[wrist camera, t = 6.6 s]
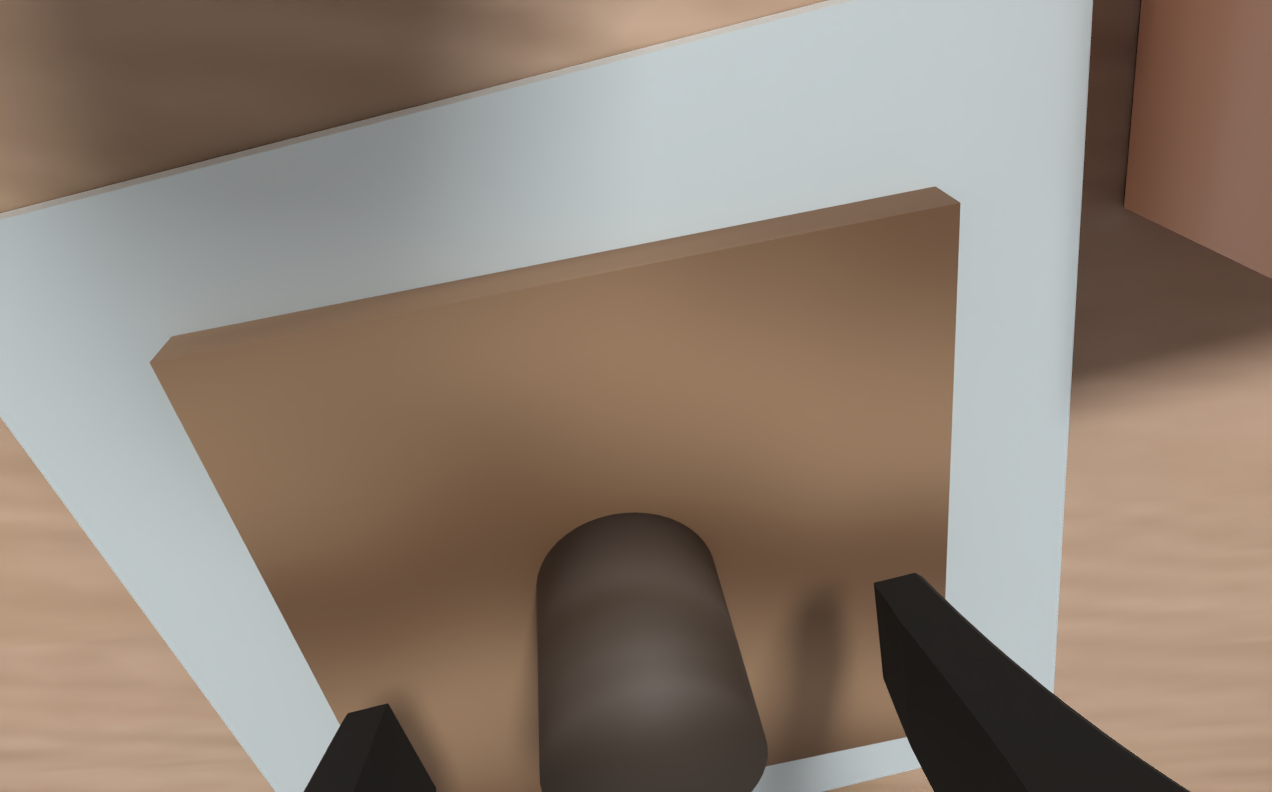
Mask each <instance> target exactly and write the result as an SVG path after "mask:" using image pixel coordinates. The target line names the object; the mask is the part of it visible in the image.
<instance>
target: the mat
mask: <svg viewBox="0 0 1272 792" xmlns="http://www.w3.org/2000/svg"><path fill="white" fill-rule="evenodd" d="M1092 10H1093V0H828V1H824V2H820V3H816V4H812V5H808V6H804V7H801V8H797V9H793V10H789V11H785V12H781V13H777V14H773V15H769V16H766V17H762V18H758V19H754V20H750V21H746V22H742V23H738V24H734V25H731V26H727V27H723V28H719V29H715V30H711V31H707V32H703V33H699V34H696V35H692V36H688V37H684V38H680V39H676V40H672V41H668V42H664V43H661V44H657V45H653V46H649V47H645V48H641V49H637V50H633V51H629V52H626V53H622V54H618V55H614V56H610V57H606V58H602V59H598V60H594V61H591V62H587V63H583V64H579V65H575V66H571V67H567V68H563V69H559V70H556V71H552V72H548V73H544V74H540V75H536V76H532V77H528V78H524V79H521V80H517V81H513V82H509V83H505V84H501V85H497V86H493V87H489V88H486V89H482V90H478V91H474V92H470V93H466V94H462V95H458V96H454V97H451V98H447V99H443V100H439V101H435V102H431V103H427V104H423V105H419V106H416V107H412V108H408V109H404V110H400V111H396V112H392V113H388V114H384V115H381V116H377V117H373V118H369V119H365V120H361V121H357V122H353V123H349V124H346V125H342V126H338V127H334V128H330V129H326V130H322V131H318V132H314V133H311V134H307V135H303V136H299V137H295V138H291V139H287V140H283V141H279V142H276V143H272V144H268V145H264V146H260V147H256V148H252V149H248V150H244V151H241V152H237V153H233V154H229V155H225V156H221V157H217V158H213V159H209V160H206V161H202V162H198V163H194V164H190V165H186V166H182V167H178V168H174V169H171V170H167V171H163V172H159V173H155V174H151V175H147V176H143V177H139V178H136V179H132V180H128V181H124V182H120V183H116V184H112V185H108V186H104V187H101V188H97V189H93V190H89V191H85V192H81V193H77V194H73V195H69V196H66V197H62V198H58V199H54V200H50V201H46V202H42V203H38V204H34V205H31V206H27V207H23V208H19V209H15V210H11V211H7V212H3V213H0V417H1V419H2V420H3V421H4V423H5V424H6V425H7V427H8V428H9V429H10V431H11V432H12V434H13V435H14V436H15V438H16V439H17V440H18V442H19V443H20V444H21V446H22V447H23V449H24V450H25V451H26V453H27V454H28V455H29V457H30V458H31V459H32V461H33V462H34V464H35V465H36V466H37V468H38V469H39V470H40V472H41V473H42V474H43V476H44V477H45V478H46V480H47V481H48V483H49V484H50V485H51V487H52V488H53V489H54V491H55V492H56V493H57V495H58V496H59V498H60V499H61V500H62V502H63V503H64V504H65V506H66V507H67V508H68V510H69V511H70V513H71V514H72V515H73V517H74V518H75V519H76V521H77V522H78V523H79V525H80V526H81V528H82V529H83V530H84V532H85V533H86V534H87V536H88V537H89V538H90V540H91V541H92V543H93V544H94V545H95V547H96V548H97V549H98V551H99V552H100V553H101V555H102V556H103V558H104V559H105V560H106V562H107V563H108V564H109V566H110V567H111V568H112V570H113V571H114V573H115V574H116V575H117V577H118V578H119V579H120V581H121V582H122V583H123V585H124V586H125V588H126V589H127V590H128V592H129V593H130V594H131V596H132V597H133V598H134V600H135V601H136V603H137V604H138V605H139V607H140V608H141V609H142V611H143V612H144V613H145V615H146V616H147V618H148V619H149V620H150V622H151V623H152V624H153V626H154V627H155V628H156V630H157V631H158V633H159V634H160V635H161V637H162V638H163V639H164V641H165V642H166V643H167V645H168V646H169V648H170V649H171V650H172V652H173V653H174V654H175V656H176V657H177V658H178V660H179V661H180V663H181V664H182V665H183V667H184V668H185V669H186V671H187V672H188V673H189V675H190V676H191V678H192V679H193V680H194V682H195V683H196V684H197V686H198V687H199V688H200V690H201V691H202V693H203V694H204V695H205V697H206V698H207V699H208V701H209V702H210V703H211V705H212V706H213V708H214V709H215V710H216V712H217V713H218V714H219V716H220V717H221V718H222V720H223V721H224V723H225V724H226V725H227V727H228V728H229V729H230V731H231V732H232V733H233V735H234V736H235V738H236V739H237V740H238V742H239V743H240V744H241V746H242V747H243V748H244V750H245V751H246V753H247V754H248V755H249V757H250V758H251V759H252V761H253V762H254V763H255V765H256V766H257V768H258V769H259V770H260V772H261V773H262V774H263V776H264V777H265V778H266V780H267V781H268V782H269V784H270V785H271V787H272V788H273V789H274V791H275V792H304V790H305V788H306V786H307V785H308V783H309V781H310V779H311V777H312V776H313V774H314V772H315V770H316V768H317V766H318V765H319V763H320V761H321V759H322V757H323V755H324V754H325V752H326V750H327V748H328V746H329V745H330V743H331V741H332V739H333V737H334V736H335V734H336V732H337V730H338V728H339V727H340V724H339V722H338V721H337V719H336V717H335V715H334V713H333V711H332V709H331V707H330V705H329V703H328V702H327V700H326V698H325V696H324V694H323V692H322V690H321V688H320V686H319V684H318V682H317V681H316V679H315V677H314V675H313V673H312V671H311V669H310V667H309V665H308V663H307V662H306V660H305V658H304V656H303V654H302V652H301V650H300V648H299V646H298V644H297V642H296V641H295V639H294V637H293V635H292V633H291V631H290V629H289V627H288V625H287V623H286V622H285V620H284V618H283V616H282V614H281V612H280V610H279V608H278V606H277V604H276V603H275V601H274V599H273V597H272V595H271V593H270V591H269V589H268V587H267V585H266V583H265V582H264V580H263V578H262V576H261V574H260V572H259V570H258V568H257V566H256V564H255V563H254V561H253V559H252V557H251V555H250V553H249V551H248V549H247V547H246V545H245V543H244V542H243V540H242V538H241V536H240V534H239V532H238V530H237V528H236V526H235V524H234V523H233V521H232V519H231V517H230V515H229V513H228V511H227V509H226V507H225V505H224V503H223V502H222V500H221V498H220V496H219V494H218V492H217V490H216V488H215V486H214V484H213V483H212V481H211V479H210V477H209V475H208V473H207V471H206V469H205V467H204V465H203V464H202V462H201V460H200V458H199V456H198V454H197V452H196V450H195V448H194V446H193V444H192V443H191V441H190V439H189V437H188V435H187V433H186V431H185V429H184V427H183V425H182V424H181V422H180V420H179V418H178V416H177V414H176V412H175V410H174V408H173V406H172V404H171V403H170V401H169V399H168V397H167V395H166V393H165V391H164V389H163V387H162V385H161V384H160V382H159V380H158V378H157V376H156V374H155V372H154V370H153V368H152V366H151V364H150V363H149V362H150V361H151V360H152V359H153V358H154V357H155V355H156V354H157V353H158V352H159V351H160V350H161V348H162V347H163V346H164V345H165V344H166V342H167V341H168V340H169V339H170V338H171V337H172V336H176V335H181V334H186V333H191V332H196V331H201V330H207V329H212V328H217V327H222V326H227V325H232V324H237V323H242V322H247V321H252V320H257V319H263V318H268V317H273V316H278V315H283V314H288V313H293V312H298V311H303V310H308V309H313V308H319V307H324V306H329V305H334V304H339V303H344V302H349V301H354V300H359V299H364V298H369V297H374V296H380V295H385V294H390V293H395V292H400V291H405V290H410V289H415V288H420V287H425V286H430V285H436V284H441V283H446V282H451V281H456V280H461V279H466V278H471V277H476V276H481V275H486V274H492V273H497V272H502V271H507V270H512V269H517V268H522V267H527V266H532V265H537V264H542V263H548V262H553V261H558V260H563V259H568V258H573V257H578V256H583V255H588V254H593V253H598V252H603V251H609V250H614V249H619V248H624V247H629V246H634V245H639V244H644V243H649V242H654V241H659V240H665V239H670V238H675V237H680V236H685V235H690V234H695V233H700V232H705V231H710V230H715V229H721V228H726V227H731V226H736V225H741V224H746V223H751V222H756V221H761V220H766V219H771V218H776V217H782V216H787V215H792V214H797V213H802V212H807V211H812V210H817V209H822V208H827V207H832V206H838V205H843V204H848V203H853V202H858V201H863V200H868V199H873V198H878V197H883V196H888V195H894V194H899V193H904V192H909V191H914V190H919V189H924V188H929V187H934V186H936V187H937V188H939V189H940V190H942V191H943V192H945V193H946V194H948V195H949V196H951V197H952V198H954V199H956V200H957V201H959V202H960V203H961V204H960V230H959V256H958V282H957V308H956V334H955V360H954V385H953V411H952V437H951V463H950V489H949V515H948V541H947V567H946V593H945V599H946V600H947V601H948V602H949V603H950V604H951V605H952V606H953V607H954V608H955V609H956V610H957V611H958V612H959V613H960V614H961V615H962V616H963V617H965V618H966V619H967V620H968V621H969V622H970V623H971V624H972V625H973V626H974V627H975V628H977V629H978V630H979V631H980V632H981V633H982V634H983V635H984V636H985V637H987V638H988V639H989V640H990V641H991V642H992V643H993V644H994V645H996V646H997V647H998V648H999V649H1000V650H1001V651H1002V652H1004V653H1005V654H1006V655H1007V656H1008V657H1009V658H1011V659H1012V660H1013V661H1014V662H1015V663H1017V664H1018V665H1019V666H1020V667H1021V668H1023V669H1024V670H1025V671H1026V672H1027V673H1029V674H1030V675H1031V676H1032V677H1033V678H1035V679H1036V680H1037V681H1038V682H1039V683H1041V684H1042V685H1043V686H1044V687H1045V688H1047V689H1048V690H1049V691H1050V692H1052V693H1054V676H1055V658H1056V640H1057V623H1058V605H1059V588H1060V570H1061V553H1062V535H1063V518H1064V500H1065V483H1066V465H1067V448H1068V430H1069V413H1070V395H1071V378H1072V360H1073V343H1074V325H1075V308H1076V290H1077V272H1078V255H1079V237H1080V220H1081V202H1082V185H1083V167H1084V150H1085V132H1086V115H1087V97H1088V80H1089V62H1090V45H1091V27H1092ZM917 768H921V766H920V764H919V762H918V760H917V758H916V756H915V754H914V752H913V750H912V748H911V746H910V744H909V741H908V739H907V737H905V738H900V739H895V740H891V741H886V742H881V743H876V744H871V745H867V746H862V747H857V748H852V749H847V750H843V751H838V752H833V753H828V754H823V755H819V756H814V757H809V758H804V759H799V760H795V761H790V762H785V763H780V764H775V765H771V766H766V767H765V770H764V773H763V775H762V777H761V779H760V781H759V782H758V784H757V785H756V787H755V788H754V789H753V791H752V792H824V791H828V790H832V789H836V788H840V787H844V786H848V785H852V784H856V783H860V782H864V781H869V780H873V779H877V778H881V777H885V776H889V775H893V774H897V773H901V772H905V771H909V770H913V769H917Z"/></svg>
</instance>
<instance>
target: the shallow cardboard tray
mask: <svg viewBox="0 0 1272 792" xmlns="http://www.w3.org/2000/svg"><path fill="white" fill-rule="evenodd" d="M1124 208H1126V209H1128V210H1130V211H1132V212H1134V213H1136V214H1138V215H1140V216H1142V217H1144V218H1146V219H1148V220H1150V221H1153V222H1155V223H1157V224H1159V225H1161V226H1163V227H1165V228H1167V229H1169V230H1171V231H1173V232H1175V233H1177V234H1180V235H1182V236H1184V237H1186V238H1188V239H1190V240H1192V241H1194V242H1196V243H1198V244H1200V245H1202V246H1204V247H1207V248H1209V249H1211V250H1213V251H1215V252H1217V253H1219V254H1221V255H1223V256H1225V257H1227V258H1229V259H1231V260H1233V261H1236V262H1238V263H1240V264H1242V265H1244V266H1246V267H1248V268H1250V269H1252V270H1254V271H1256V272H1258V273H1260V274H1263V275H1265V276H1267V277H1269V278H1271V279H1272V0H1142V1H1141V13H1140V25H1139V36H1138V48H1137V60H1136V72H1135V84H1134V96H1133V107H1132V119H1131V131H1130V143H1129V155H1128V167H1127V178H1126V190H1125V202H1124Z"/></svg>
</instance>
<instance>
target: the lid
mask: <svg viewBox="0 0 1272 792" xmlns="http://www.w3.org/2000/svg"><path fill="white" fill-rule="evenodd" d="M960 204H961V203H960V202H959V201H957V200H956V199H954V198H952V197H951V196H949V195H948V194H946V193H945V192H943V191H942V190H940V189H939V188H937V187H936V186H934V187H929V188H924V189H919V190H914V191H909V192H904V193H899V194H894V195H888V196H883V197H878V198H873V199H868V200H863V201H858V202H853V203H848V204H843V205H838V206H832V207H827V208H822V209H817V210H812V211H807V212H802V213H797V214H792V215H787V216H782V217H776V218H771V219H766V220H761V221H756V222H751V223H746V224H741V225H736V226H731V227H726V228H721V229H715V230H710V231H705V232H700V233H695V234H690V235H685V236H680V237H675V238H670V239H665V240H659V241H654V242H649V243H644V244H639V245H634V246H629V247H624V248H619V249H614V250H609V251H603V252H598V253H593V254H588V255H583V256H578V257H573V258H568V259H563V260H558V261H553V262H548V263H542V264H537V265H532V266H527V267H522V268H517V269H512V270H507V271H502V272H497V273H492V274H486V275H481V276H476V277H471V278H466V279H461V280H456V281H451V282H446V283H441V284H436V285H430V286H425V287H420V288H415V289H410V290H405V291H400V292H395V293H390V294H385V295H380V296H374V297H369V298H364V299H359V300H354V301H349V302H344V303H339V304H334V305H329V306H324V307H319V308H313V309H308V310H303V311H298V312H293V313H288V314H283V315H278V316H273V317H268V318H263V319H257V320H252V321H247V322H242V323H237V324H232V325H227V326H222V327H217V328H212V329H207V330H201V331H196V332H191V333H186V334H181V335H176V336H172V337H171V338H170V339H169V340H168V341H167V342H166V344H165V345H164V346H163V347H162V348H161V350H160V351H159V352H158V353H157V354H156V355H155V357H154V358H153V359H152V360H151V361H150V362H149V363H150V364H151V366H152V368H153V370H154V372H155V374H156V376H157V378H158V380H159V382H160V384H161V385H162V387H163V389H164V391H165V393H166V395H167V397H168V399H169V401H170V403H171V404H172V406H173V408H174V410H175V412H176V414H177V416H178V418H179V420H180V422H181V424H182V425H183V427H184V429H185V431H186V433H187V435H188V437H189V439H190V441H191V443H192V444H193V446H194V448H195V450H196V452H197V454H198V456H199V458H200V460H201V462H202V464H203V465H204V467H205V469H206V471H207V473H208V475H209V477H210V479H211V481H212V483H213V484H214V486H215V488H216V490H217V492H218V494H219V496H220V498H221V500H222V502H223V503H224V505H225V507H226V509H227V511H228V513H229V515H230V517H231V519H232V521H233V523H234V524H235V526H236V528H237V530H238V532H239V534H240V536H241V538H242V540H243V542H244V543H245V545H246V547H247V549H248V551H249V553H250V555H251V557H252V559H253V561H254V563H255V564H256V566H257V568H258V570H259V572H260V574H261V576H262V578H263V580H264V582H265V583H266V585H267V587H268V589H269V591H270V593H271V595H272V597H273V599H274V601H275V603H276V604H277V606H278V608H279V610H280V612H281V614H282V616H283V618H284V620H285V622H286V623H287V625H288V627H289V629H290V631H291V633H292V635H293V637H294V639H295V641H296V642H297V644H298V646H299V648H300V650H301V652H302V654H303V656H304V658H305V660H306V662H307V663H308V665H309V667H310V669H311V671H312V673H313V675H314V677H315V679H316V681H317V682H318V684H319V686H320V688H321V690H322V692H323V694H324V696H325V698H326V700H327V702H328V703H329V705H330V707H331V709H332V711H333V713H334V715H335V717H336V719H337V721H338V722H339V724H340V725H341V723H342V721H343V720H344V718H345V717H346V715H347V713H350V712H355V711H359V710H363V709H367V708H371V707H375V706H379V705H383V704H387V703H388V704H389V706H390V707H391V709H392V711H393V713H394V714H395V716H396V718H397V720H398V721H399V723H400V725H401V727H402V729H403V730H404V732H405V734H406V736H407V737H408V739H409V741H410V743H411V744H412V746H413V748H414V750H415V751H416V753H417V755H418V757H419V759H420V760H421V762H422V764H423V766H424V767H425V769H426V771H427V773H428V774H429V776H430V778H431V780H432V782H433V783H434V785H435V787H436V792H752V791H753V789H754V788H755V787H756V785H757V784H758V782H759V781H760V779H761V777H762V775H763V773H764V770H765V767H766V766H771V765H775V764H780V763H785V762H790V761H795V760H799V759H804V758H809V757H814V756H819V755H823V754H828V753H833V752H838V751H843V750H847V749H852V748H857V747H862V746H867V745H871V744H876V743H881V742H886V741H891V740H895V739H900V738H905V737H906V734H905V732H904V729H903V727H902V724H901V722H900V719H899V717H898V715H897V712H896V710H895V707H894V704H893V702H892V699H891V697H890V694H889V692H888V689H887V687H886V684H885V682H884V679H883V672H882V662H881V652H880V642H879V632H878V622H877V612H876V602H875V592H874V583H875V582H879V581H883V580H887V579H891V578H895V577H899V576H903V575H907V574H911V573H917V574H919V575H920V576H922V577H923V578H924V579H925V580H926V581H927V582H928V583H929V584H930V585H931V586H932V587H933V588H934V589H935V590H936V591H937V592H938V593H939V594H940V595H941V596H943V597H944V598H945V593H946V567H947V541H948V515H949V489H950V463H951V437H952V411H953V385H954V360H955V334H956V308H957V282H958V256H959V230H960Z"/></svg>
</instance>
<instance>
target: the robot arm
mask: <svg viewBox="0 0 1272 792" xmlns="http://www.w3.org/2000/svg"><path fill="white" fill-rule="evenodd" d="M874 592H875V602H876V612H877V622H878V632H879V642H880V652H881V662H882V672H883V679H884V682H885V684H886V687H887V689H888V692H889V694H890V697H891V699H892V702H893V704H894V707H895V710H896V712H897V715H898V717H899V719H900V722H901V724H902V727H903V729H904V732H905V734H906V737H907V739H908V741H909V744H910V746H911V748H912V750H913V752H914V754H915V756H916V758H917V760H918V762H919V764H920V766H921V767H922V769H923V771H924V773H925V775H926V777H927V779H928V781H929V783H930V785H931V786H932V788H933V790H934V792H1190V791H1188V790H1187V789H1185V788H1184V787H1182V786H1181V785H1179V784H1178V783H1176V782H1175V781H1173V780H1172V779H1170V778H1169V777H1167V776H1166V775H1164V774H1163V773H1161V772H1160V771H1158V770H1157V769H1155V768H1154V767H1152V766H1151V765H1149V764H1148V763H1146V762H1145V761H1143V760H1142V759H1140V758H1139V757H1137V756H1136V755H1135V754H1133V753H1132V752H1130V751H1129V750H1127V749H1126V748H1125V747H1123V746H1122V745H1120V744H1119V743H1118V742H1116V741H1115V740H1114V739H1112V738H1111V737H1109V736H1108V735H1107V734H1105V733H1104V732H1102V731H1101V730H1100V729H1099V728H1097V727H1096V726H1095V725H1093V724H1092V723H1091V722H1089V721H1088V720H1087V719H1085V718H1084V717H1083V716H1081V715H1080V714H1079V713H1077V712H1076V711H1075V710H1073V709H1072V708H1071V707H1069V706H1068V705H1067V704H1066V703H1064V702H1063V701H1062V700H1061V699H1059V698H1058V697H1057V696H1055V695H1054V694H1053V693H1052V692H1050V691H1049V690H1048V689H1047V688H1045V687H1044V686H1043V685H1042V684H1041V683H1039V682H1038V681H1037V680H1036V679H1035V678H1033V677H1032V676H1031V675H1030V674H1029V673H1027V672H1026V671H1025V670H1024V669H1023V668H1021V667H1020V666H1019V665H1018V664H1017V663H1015V662H1014V661H1013V660H1012V659H1011V658H1009V657H1008V656H1007V655H1006V654H1005V653H1004V652H1002V651H1001V650H1000V649H999V648H998V647H997V646H996V645H994V644H993V643H992V642H991V641H990V640H989V639H988V638H987V637H985V636H984V635H983V634H982V633H981V632H980V631H979V630H978V629H977V628H975V627H974V626H973V625H972V624H971V623H970V622H969V621H968V620H967V619H966V618H965V617H963V616H962V615H961V614H960V613H959V612H958V611H957V610H956V609H955V608H954V607H953V606H952V605H951V604H950V603H949V602H948V601H947V600H946V599H945V598H944V597H943V596H941V595H940V594H939V593H938V592H937V591H936V590H935V589H934V588H933V587H932V586H931V585H930V584H929V583H928V582H927V581H926V580H925V579H924V578H923V577H922V576H920V575H919V574H917V573H911V574H907V575H903V576H899V577H895V578H891V579H887V580H883V581H879V582H875V583H874ZM304 792H436V787H435V785H434V783H433V782H432V780H431V778H430V776H429V774H428V773H427V771H426V769H425V767H424V766H423V764H422V762H421V760H420V759H419V757H418V755H417V753H416V751H415V750H414V748H413V746H412V744H411V743H410V741H409V739H408V737H407V736H406V734H405V732H404V730H403V729H402V727H401V725H400V723H399V721H398V720H397V718H396V716H395V714H394V713H393V711H392V709H391V707H390V706H389V704H388V703H387V704H383V705H379V706H375V707H371V708H367V709H363V710H359V711H355V712H350V713H347V715H346V717H345V718H344V720H343V721H342V723H341V725H340V727H339V728H338V730H337V732H336V734H335V736H334V737H333V739H332V741H331V743H330V745H329V746H328V748H327V750H326V752H325V754H324V755H323V757H322V759H321V761H320V763H319V765H318V766H317V768H316V770H315V772H314V774H313V776H312V777H311V779H310V781H309V783H308V785H307V786H306V788H305V790H304Z"/></svg>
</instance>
